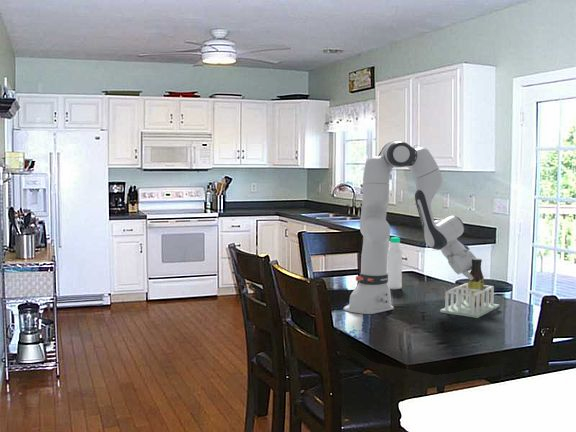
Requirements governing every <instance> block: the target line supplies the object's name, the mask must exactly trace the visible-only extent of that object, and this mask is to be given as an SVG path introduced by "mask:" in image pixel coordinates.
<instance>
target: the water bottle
mask: <svg viewBox="0 0 576 432" xmlns="http://www.w3.org/2000/svg"><path fill="white" fill-rule="evenodd" d="M389 243H390V245H389V248H388V255H387V274H388V283H387V285H388V287H389V288H390V290H400V289H402V287H403V286H402V285H403V284H402V283H403V281H402V279H403V274H402V271H403V256H402V255H403V250H402V248H401V246H400V243H401V238H400V237H395V236H394V237H393V236H392V237H390V239H389Z"/></svg>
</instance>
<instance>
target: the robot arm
mask: <svg viewBox="0 0 576 432" xmlns="http://www.w3.org/2000/svg"><path fill="white" fill-rule="evenodd" d="M404 167H407V168H408V169H409V171H410V172H411V174H412V177H413V179H414V181H415V182H414V183H415V190H416V191H415V193H414V200H415V205H416V208H417V209H416V210H417V213H418V216H419V220H420V224H421V228H422V232H423V239H424V243H425V245H427V246H428V248H430V249H433V250H437V251H441V253H442V256H444V257H445V258H446V260H448V261H447V263H448V264H449V267H451V269H452V270H453V271H454V272H455V274H457V275H461V274H462V275H464V277H467V279H468V281H469V280H473V279H474V276H473V275H471V274H470V272H471V270H472V259H475V258H476V259H478V257H476V256H475V255H474V253H473V252H472V251H471V250H470V247H469V246H467V245H464V244H463V243H461V242H460V241H459V240H458V238H459V237H461V236H462V235H463V233H465V225H464V223H463V221H462V219H461V218H459V217H458V216H457V215H450V216H447V217H446V218H443V219H436V220H435V218H434V215H433V211H432V202H433V199H434V198H435V196H436V194H437V193H438V192H439V190H440V189H441V187H442V185H443V182H444V181H443V175H442V172H441V170H440V168H439V166H438V164H437V162H436V160H435V158H434V157H433V155H432V153H431V151H429V149H428V148H425V147H417V148H414V147H412V146H411V145H410V144H409V143H407V142H405V141H402V140H393V141H389V142H387V143H386V144H384V146H383V147H382V149H381V150H380V152H379V154H378V155H377V156H371V157H370V158H368V159H367V160H366V161H365V164H364V171H363V177H362V178H363V179H362V199H361V201H362V203H361V211H360V218H359V219H360V221H359V230H360V233H361V235H362V236H363V237H362V247H361V248H362V250H361V253H360V256H361V257H360V273H359V276H358V275H355V281H358V284H357V285H356V286H355V288H354V289H353V290H352V292H351V294H350V295H349V300H348V301H349V304H347V305H345V306H344V307H343V310H344V311H346V312H351V313H354V314H355V313H356V314H361V315H362V314H363V315H374V314H377V313H378V314H379V313H383V312H386V311H391V310H394V309H395V307H394V306H393V305H392V299H391V297H392V296H391V289H390V288H389V287H388V285H387V283H388V250H389V249H390V239H391V227H390V223H389V222H388V220H387V213H388V212H387V211H388V206H389V201H390V200H389V199H390V175H391V172H392V170H393V168H404Z"/></svg>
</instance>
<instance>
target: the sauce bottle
mask: <svg viewBox="0 0 576 432" xmlns="http://www.w3.org/2000/svg"><path fill="white" fill-rule="evenodd" d="M476 258H477V257H476ZM476 258H475V259H472V270H470V271H469V273H470V274H471V275H473V276H474V279H473V280H469V279H468V282H467V283H468V288H472V289H480V290H483V289H484V287H483V285H484V281H485V279H484V275H483V271H482V260H483V259H482V258H477V259H476ZM476 292H477V291H472V294H474V293H476ZM468 293H469V290H468ZM475 306H476V296H475ZM479 306H481V294H480V305H479Z"/></svg>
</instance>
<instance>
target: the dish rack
mask: <svg viewBox="0 0 576 432" xmlns="http://www.w3.org/2000/svg"><path fill="white" fill-rule="evenodd" d="M494 289H495V286H494V285H487V284H483V290H480V289H472V288H468V282H465V283H463V284H461V285H458V286H455V287H452V288H449V289H448V290H445V294H444V295H445V297H444V299H445V300H444V308H441V309H440V310H439V313H444V314H448V315H449V314H450V315H457V316H463V317H468V318H476V319H479V318H480V317H482V316H484V315H486V314H488V313H491V312H492V311H494V310H496V309H498V308H500V304H497V303H494V300H495V299H494V297H495V294H494V293H495V292H494V291H495V290H494ZM468 290H469V293H468ZM472 291H477V292H476V293H474V294H472ZM480 294H481V306H479V305H480ZM475 296H476V306H475ZM449 297H450V300H449ZM449 302H450V305H449ZM454 302H455V303H454Z"/></svg>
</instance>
